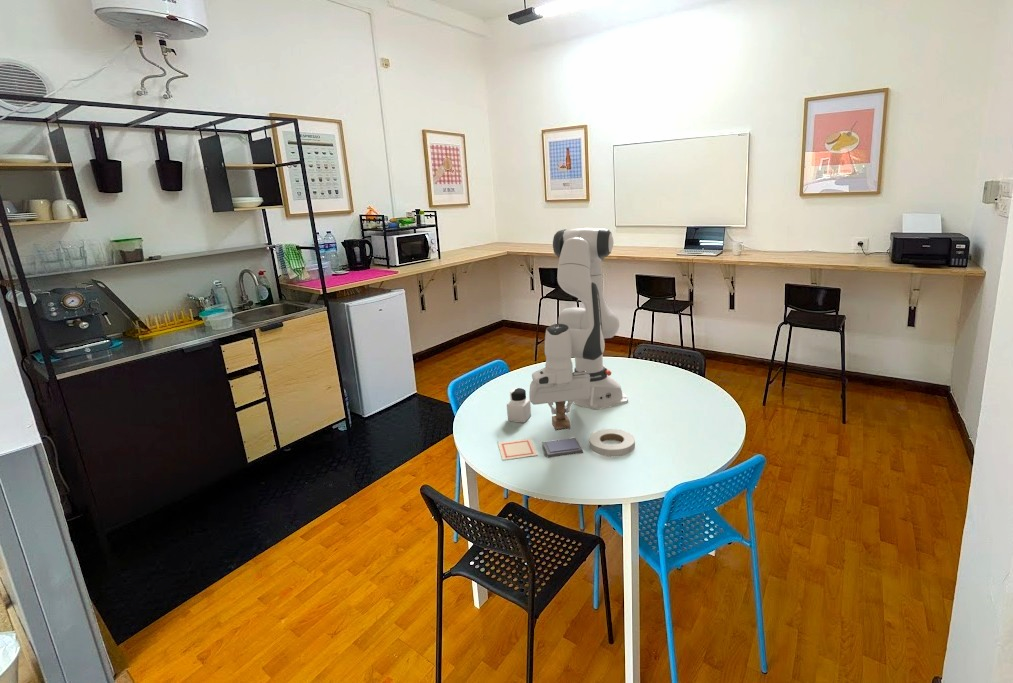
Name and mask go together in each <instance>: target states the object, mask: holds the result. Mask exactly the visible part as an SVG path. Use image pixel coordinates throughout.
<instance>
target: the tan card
mask: <svg viewBox="0 0 1013 683" xmlns="http://www.w3.org/2000/svg"><path fill="white" fill-rule="evenodd" d="M497 444H498V448H499V452H500V456H501V460H502V461H508V460H514V459H522V458H529V457H536V456H538V455H539V454H538V453H537V449H536V448H535V446H534V443H533V441H532V438H524V439H518V440H510V441H502V442H497Z"/></svg>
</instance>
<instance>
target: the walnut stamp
mask: <svg viewBox="0 0 1013 683" xmlns="http://www.w3.org/2000/svg"><path fill="white" fill-rule="evenodd" d="M566 403H567V401H560V402H554V404H555V407H556V409H557V414H555V415H552V416H551V425H552V427H553V429H554V431H555V432H556V431H563V430H570V429H571V420H570V419H569V416H568V415H567V414H566V413H565V406H566Z"/></svg>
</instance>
